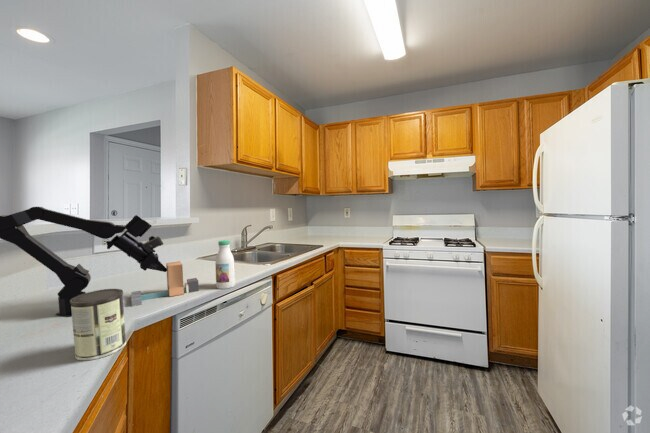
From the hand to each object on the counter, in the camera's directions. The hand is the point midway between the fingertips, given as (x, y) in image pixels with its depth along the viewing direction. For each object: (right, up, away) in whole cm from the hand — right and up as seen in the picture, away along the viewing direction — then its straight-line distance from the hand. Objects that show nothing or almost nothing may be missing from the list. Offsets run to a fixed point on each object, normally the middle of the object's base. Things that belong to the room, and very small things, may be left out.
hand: (166, 270), depth 111 cm
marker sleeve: (+3, -9, +2) cm, 10 cm away
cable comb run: (0, -10, 0) cm, 10 cm away
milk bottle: (+20, -9, +10) cm, 24 cm away
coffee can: (+7, -12, -40) cm, 43 cm away
